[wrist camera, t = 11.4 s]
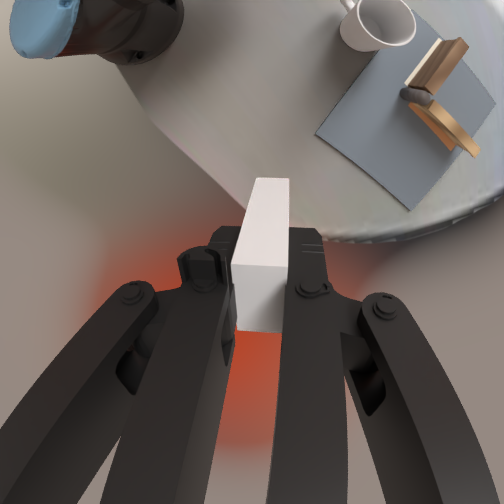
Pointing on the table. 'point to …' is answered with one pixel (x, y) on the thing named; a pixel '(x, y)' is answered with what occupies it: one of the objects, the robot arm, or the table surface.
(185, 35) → the table surface
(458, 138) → the wooden board
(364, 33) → the mug
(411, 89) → the base
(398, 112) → the card
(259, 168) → the table surface
